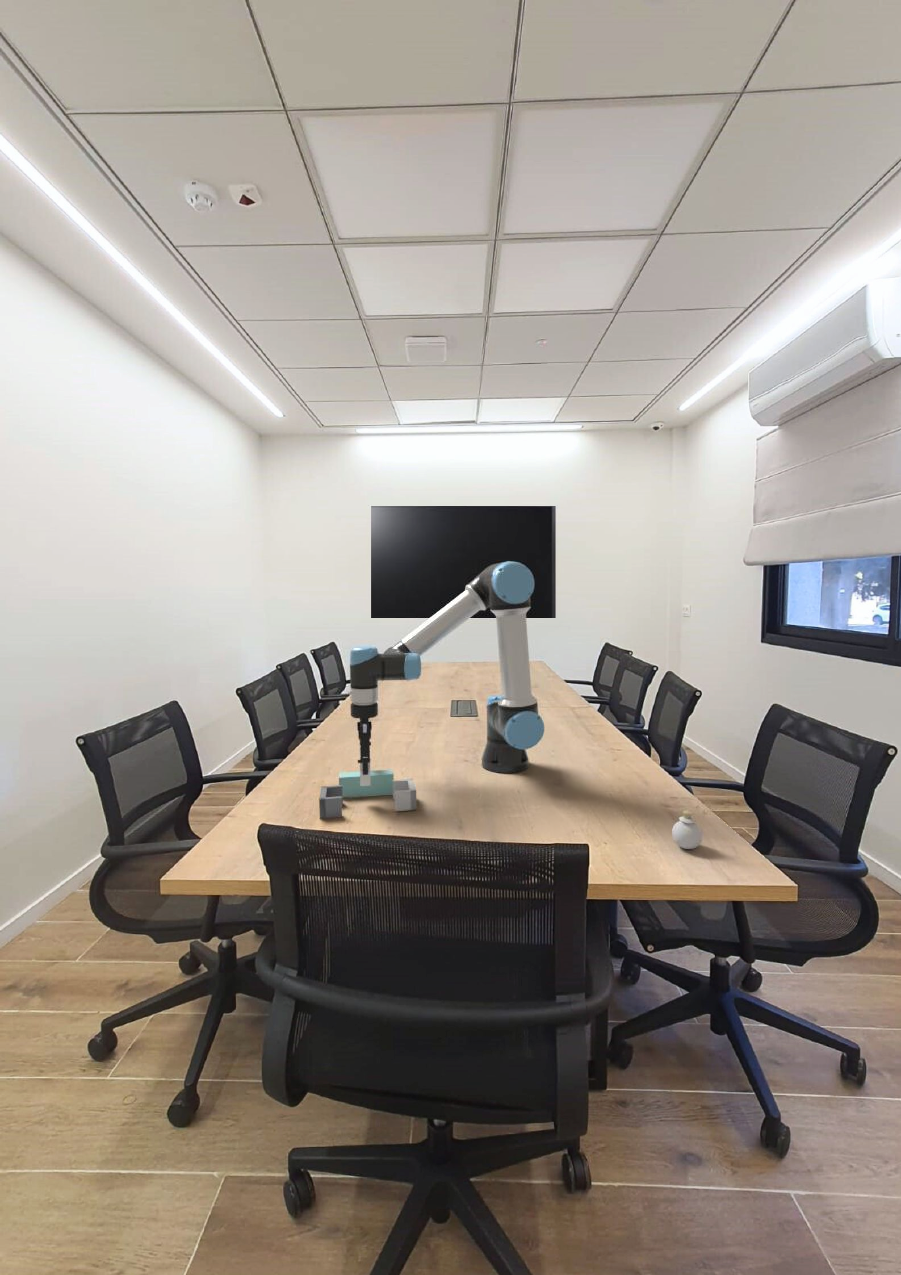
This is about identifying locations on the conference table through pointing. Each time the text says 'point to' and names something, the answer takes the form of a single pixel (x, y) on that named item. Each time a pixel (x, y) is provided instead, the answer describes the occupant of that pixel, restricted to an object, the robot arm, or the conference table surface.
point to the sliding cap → (404, 795)
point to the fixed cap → (331, 801)
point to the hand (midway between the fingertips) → (364, 776)
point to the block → (378, 786)
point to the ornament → (687, 831)
